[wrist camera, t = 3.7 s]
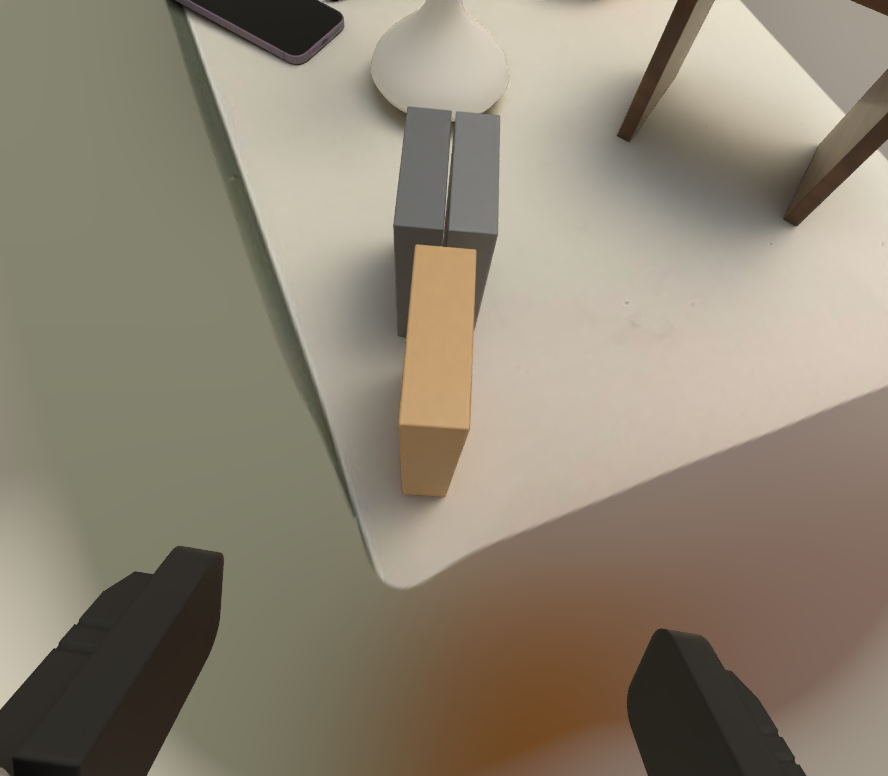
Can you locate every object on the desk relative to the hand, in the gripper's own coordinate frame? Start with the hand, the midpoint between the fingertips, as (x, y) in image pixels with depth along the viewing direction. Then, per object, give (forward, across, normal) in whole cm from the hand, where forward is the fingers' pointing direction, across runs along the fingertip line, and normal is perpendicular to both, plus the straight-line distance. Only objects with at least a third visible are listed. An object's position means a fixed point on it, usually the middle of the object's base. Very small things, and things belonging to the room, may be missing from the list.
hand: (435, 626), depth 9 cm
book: (+22, 0, +6) cm, 23 cm away
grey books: (+29, +1, -1) cm, 29 cm away
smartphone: (+48, +21, -19) cm, 55 cm away
